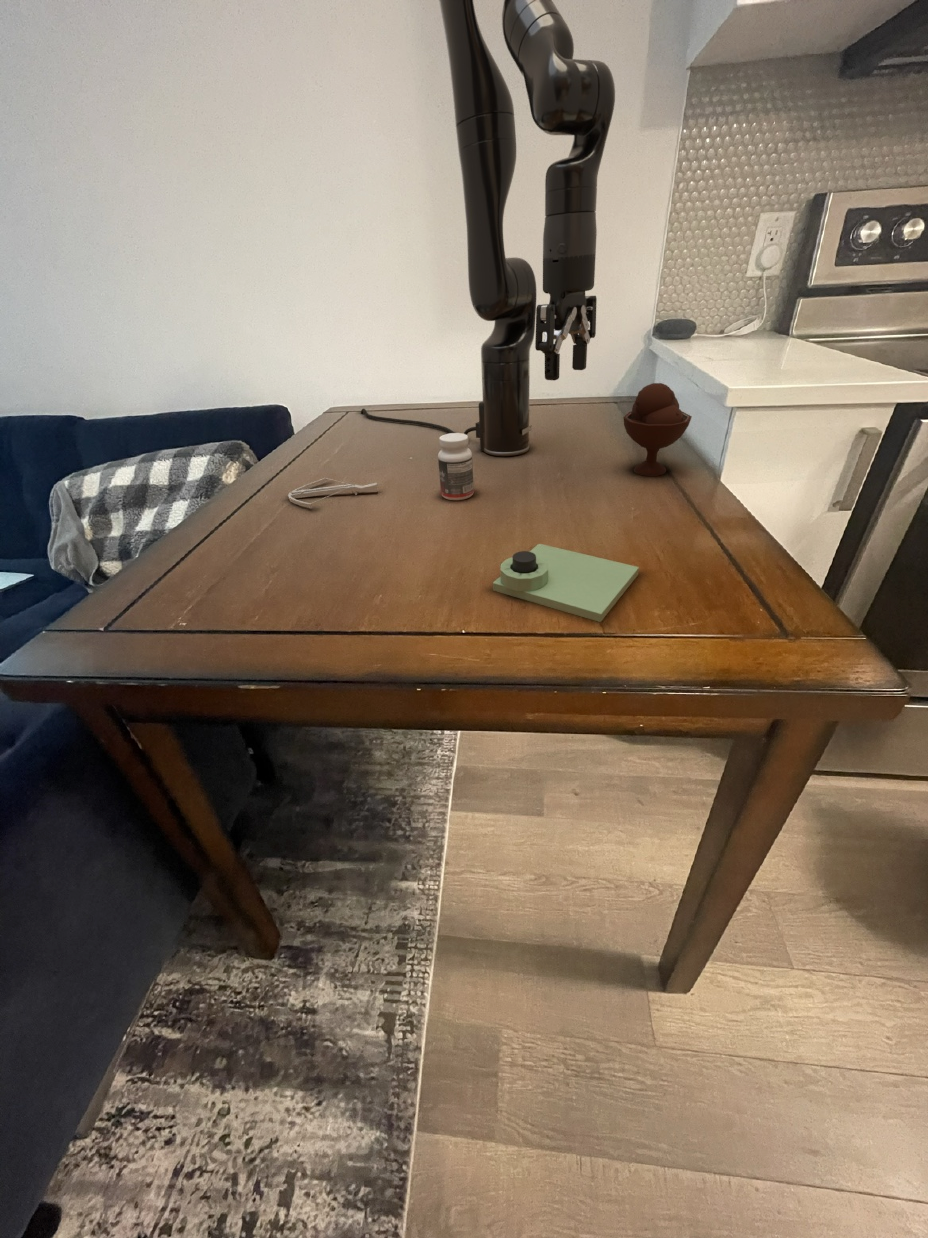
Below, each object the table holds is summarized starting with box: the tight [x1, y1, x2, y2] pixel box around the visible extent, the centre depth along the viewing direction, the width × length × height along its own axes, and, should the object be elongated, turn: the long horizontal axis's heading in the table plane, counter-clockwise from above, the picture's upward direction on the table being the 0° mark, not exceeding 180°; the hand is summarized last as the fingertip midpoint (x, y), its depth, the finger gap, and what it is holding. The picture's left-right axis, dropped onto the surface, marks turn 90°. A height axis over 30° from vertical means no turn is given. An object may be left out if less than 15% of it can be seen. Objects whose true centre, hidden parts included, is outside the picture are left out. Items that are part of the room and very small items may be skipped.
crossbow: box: [287, 477, 380, 509], centre depth 96 cm, size 16×13×2 cm
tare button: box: [512, 550, 536, 574], centre depth 65 cm, size 3×3×2 cm
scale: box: [492, 543, 640, 623], centre depth 66 cm, size 14×12×3 cm
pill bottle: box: [437, 432, 475, 501], centre depth 91 cm, size 6×6×10 cm
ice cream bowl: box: [623, 382, 693, 477], centre depth 94 cm, size 11×11×15 cm
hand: (565, 374), depth 87 cm, fingers open, 8 cm apart
